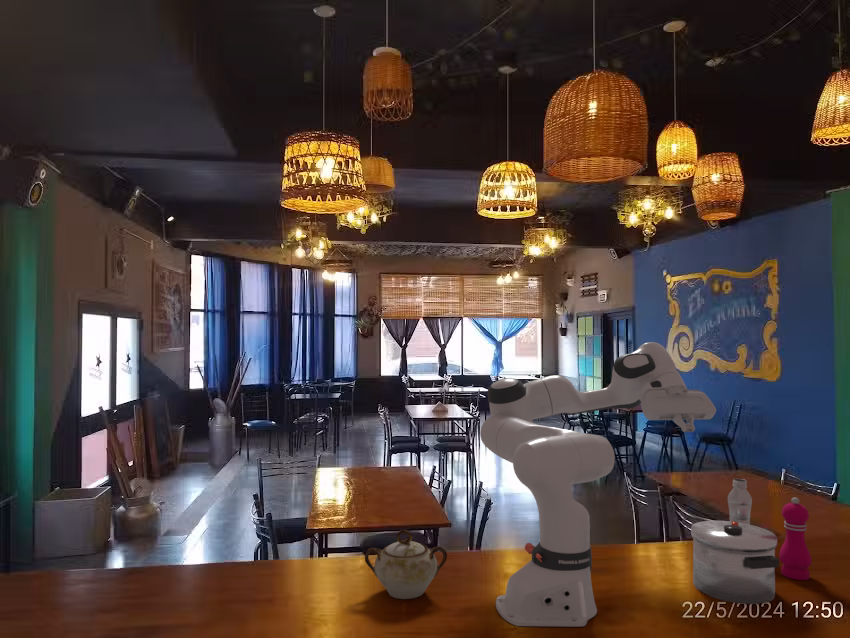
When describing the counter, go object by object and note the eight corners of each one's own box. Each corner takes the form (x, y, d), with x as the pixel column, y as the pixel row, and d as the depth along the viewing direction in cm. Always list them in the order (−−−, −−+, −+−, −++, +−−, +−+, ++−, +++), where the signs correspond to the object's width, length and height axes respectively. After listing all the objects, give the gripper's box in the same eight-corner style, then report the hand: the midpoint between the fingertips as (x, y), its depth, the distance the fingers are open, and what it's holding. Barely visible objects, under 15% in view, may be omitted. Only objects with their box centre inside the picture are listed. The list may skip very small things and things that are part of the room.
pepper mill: (816, 582, 163) (816, 502, 163) (784, 579, 165) (784, 500, 165) (805, 571, 170) (805, 494, 170) (775, 569, 172) (775, 493, 172)
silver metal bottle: (753, 549, 187) (753, 479, 187) (751, 556, 181) (750, 484, 181) (729, 545, 190) (729, 476, 191) (725, 551, 185) (725, 481, 185)
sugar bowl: (361, 605, 149) (361, 539, 149) (367, 579, 164) (367, 519, 164) (447, 606, 149) (447, 540, 149) (446, 580, 164) (446, 520, 164)
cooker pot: (729, 611, 146) (729, 557, 147) (676, 574, 168) (676, 528, 168) (800, 605, 150) (800, 552, 150) (739, 570, 171) (739, 524, 171)
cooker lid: (722, 554, 148) (722, 542, 148) (675, 528, 167) (675, 517, 167) (796, 549, 152) (796, 537, 152) (742, 524, 170) (742, 514, 170)
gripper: (698, 396, 189) (718, 436, 180) (633, 397, 185) (650, 438, 176) (707, 382, 185) (729, 423, 175) (641, 383, 181) (659, 424, 171)
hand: (689, 430), depth 175 cm, fingers closed
